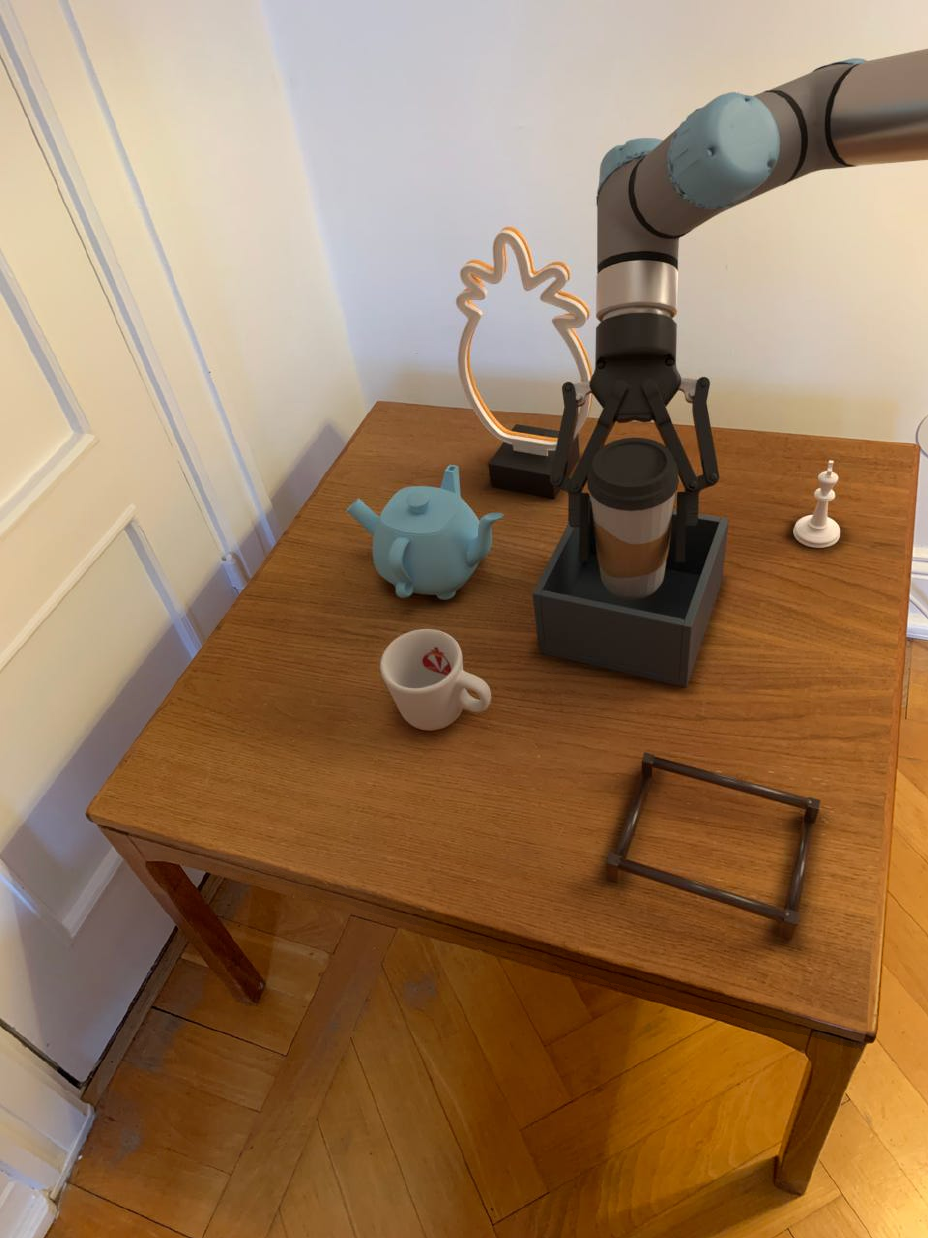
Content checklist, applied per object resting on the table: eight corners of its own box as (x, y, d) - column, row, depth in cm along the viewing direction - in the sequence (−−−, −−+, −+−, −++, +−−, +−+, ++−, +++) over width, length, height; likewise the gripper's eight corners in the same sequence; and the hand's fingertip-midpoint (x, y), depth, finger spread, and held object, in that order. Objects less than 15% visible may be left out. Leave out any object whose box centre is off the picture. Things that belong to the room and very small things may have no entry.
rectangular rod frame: (815, 818, 74) (821, 799, 71) (791, 940, 67) (797, 924, 65) (644, 770, 79) (644, 751, 77) (606, 879, 73) (605, 862, 70)
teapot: (478, 517, 107) (465, 442, 99) (514, 588, 98) (503, 512, 89) (360, 554, 106) (337, 481, 97) (386, 629, 96) (363, 556, 88)
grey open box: (722, 580, 94) (729, 518, 87) (686, 688, 85) (691, 627, 78) (585, 555, 100) (582, 494, 93) (538, 652, 91) (532, 593, 84)
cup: (510, 695, 87) (501, 644, 82) (479, 758, 83) (468, 708, 77) (416, 670, 91) (402, 620, 86) (382, 729, 87) (364, 679, 81)
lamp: (608, 462, 111) (603, 212, 88) (584, 505, 106) (571, 251, 83) (491, 442, 117) (458, 205, 94) (463, 481, 112) (420, 241, 89)
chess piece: (841, 522, 98) (858, 450, 90) (837, 551, 95) (855, 478, 87) (795, 516, 99) (809, 445, 92) (790, 544, 96) (803, 473, 89)
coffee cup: (691, 580, 87) (700, 461, 76) (628, 621, 85) (629, 503, 74) (635, 540, 92) (636, 423, 81) (574, 577, 90) (567, 461, 79)
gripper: (748, 327, 82) (742, 563, 84) (530, 337, 87) (527, 562, 88) (758, 302, 75) (751, 561, 76) (519, 315, 79) (516, 560, 81)
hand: (631, 561), depth 82 cm, fingers closed on coffee cup, 8 cm apart
